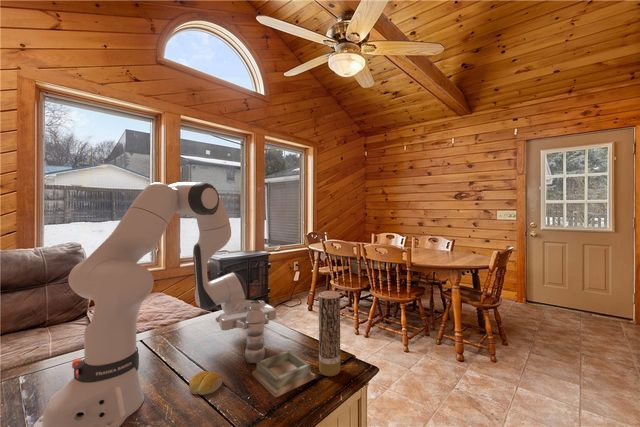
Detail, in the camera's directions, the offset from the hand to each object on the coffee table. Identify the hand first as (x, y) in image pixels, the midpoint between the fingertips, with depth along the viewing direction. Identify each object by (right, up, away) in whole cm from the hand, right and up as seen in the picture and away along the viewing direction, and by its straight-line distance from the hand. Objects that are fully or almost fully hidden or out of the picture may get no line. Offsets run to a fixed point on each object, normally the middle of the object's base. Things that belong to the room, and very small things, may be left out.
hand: (256, 324), depth 98 cm
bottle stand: (+10, -13, -8) cm, 19 cm away
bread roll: (-12, -14, -13) cm, 22 cm away
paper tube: (+25, -13, -5) cm, 28 cm away
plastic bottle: (-1, -13, +1) cm, 13 cm away
